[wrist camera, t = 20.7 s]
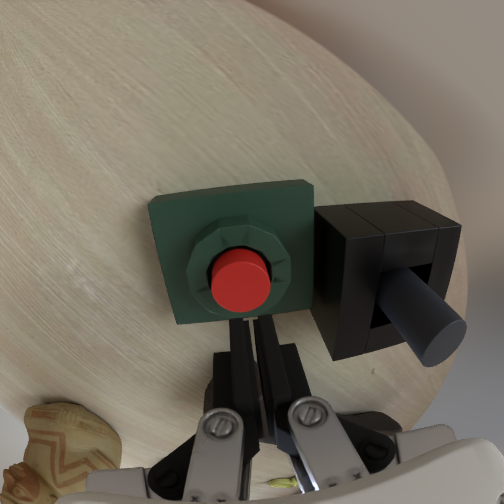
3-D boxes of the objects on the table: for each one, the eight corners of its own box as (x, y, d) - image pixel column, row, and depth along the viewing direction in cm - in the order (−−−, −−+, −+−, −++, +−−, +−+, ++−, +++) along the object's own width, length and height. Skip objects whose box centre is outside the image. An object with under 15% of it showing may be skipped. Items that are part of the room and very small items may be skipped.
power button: (216, 298, 17) (216, 315, 15) (208, 251, 16) (206, 265, 14) (267, 292, 17) (272, 308, 15) (264, 245, 16) (269, 258, 14)
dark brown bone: (374, 408, 35) (236, 321, 29) (421, 432, 25) (277, 348, 19) (334, 460, 33) (179, 397, 26) (373, 494, 23) (193, 454, 16)
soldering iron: (344, 276, 22) (414, 374, 12) (347, 239, 20) (433, 329, 10) (377, 270, 22) (454, 357, 12) (381, 235, 20) (474, 313, 10)
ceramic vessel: (80, 380, 24) (34, 568, 2) (158, 454, 33) (154, 586, 10) (10, 381, 25) (-38, 506, 2) (83, 449, 33) (65, 555, 10)
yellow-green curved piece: (324, 465, 40) (326, 473, 38) (289, 484, 44) (291, 491, 42) (294, 466, 38) (296, 475, 36) (261, 484, 42) (262, 492, 40)
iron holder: (310, 311, 23) (332, 361, 17) (311, 206, 19) (345, 238, 13) (399, 294, 23) (433, 332, 18) (413, 200, 19) (462, 225, 14)
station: (180, 307, 21) (173, 341, 18) (155, 196, 17) (138, 212, 14) (304, 292, 22) (319, 323, 18) (303, 179, 18) (323, 191, 14)
